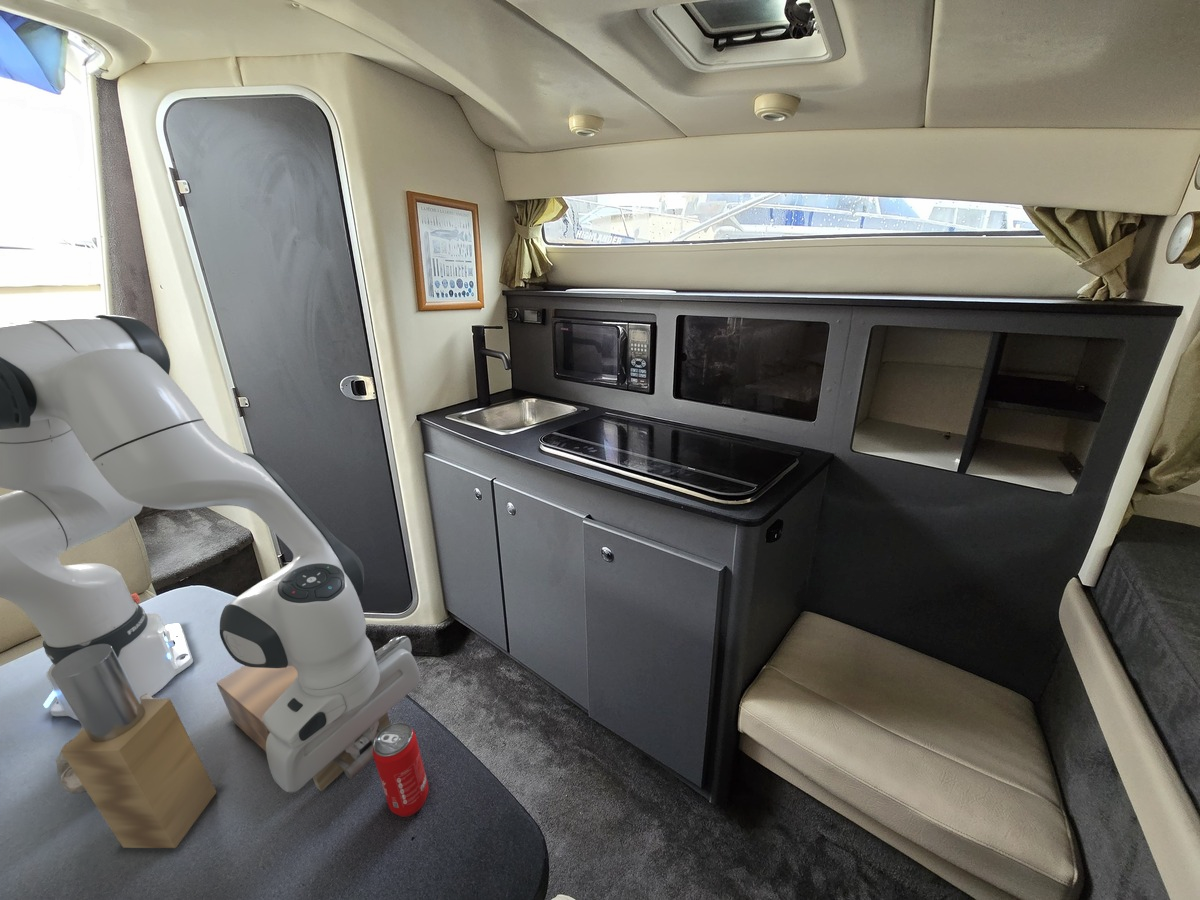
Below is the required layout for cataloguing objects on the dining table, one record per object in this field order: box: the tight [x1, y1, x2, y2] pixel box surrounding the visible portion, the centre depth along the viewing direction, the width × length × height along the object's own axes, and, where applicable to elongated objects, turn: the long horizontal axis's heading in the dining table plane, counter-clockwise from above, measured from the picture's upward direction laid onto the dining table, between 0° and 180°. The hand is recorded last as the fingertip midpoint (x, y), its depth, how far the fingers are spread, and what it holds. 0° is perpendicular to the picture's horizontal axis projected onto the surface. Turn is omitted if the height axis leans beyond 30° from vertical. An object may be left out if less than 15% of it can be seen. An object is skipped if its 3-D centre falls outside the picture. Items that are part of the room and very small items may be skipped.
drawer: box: [312, 712, 392, 792], centre depth 73 cm, size 18×11×7 cm, turn 59°
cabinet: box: [216, 665, 298, 752], centre depth 79 cm, size 15×13×9 cm
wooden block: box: [60, 698, 217, 849], centre depth 63 cm, size 7×7×18 cm
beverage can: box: [373, 721, 429, 818], centre depth 65 cm, size 5×5×12 cm
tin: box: [51, 644, 145, 742], centre depth 58 cm, size 5×5×10 cm
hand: (363, 751), depth 70 cm, fingers closed
